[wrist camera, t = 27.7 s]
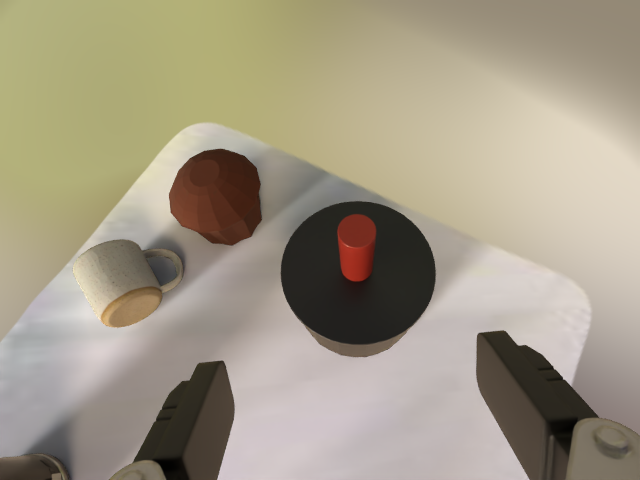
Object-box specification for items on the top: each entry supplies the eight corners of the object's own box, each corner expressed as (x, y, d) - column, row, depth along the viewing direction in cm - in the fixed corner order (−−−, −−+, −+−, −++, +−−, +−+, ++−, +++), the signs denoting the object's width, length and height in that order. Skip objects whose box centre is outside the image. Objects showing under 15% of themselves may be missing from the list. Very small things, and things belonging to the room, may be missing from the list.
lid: (351, 383, 33) (349, 370, 25) (253, 266, 38) (227, 225, 31) (466, 276, 36) (496, 235, 28) (361, 182, 42) (362, 127, 34)
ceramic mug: (123, 338, 46) (84, 322, 39) (97, 288, 49) (56, 265, 42) (199, 285, 48) (174, 261, 41) (169, 241, 51) (141, 212, 45)
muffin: (259, 260, 49) (237, 223, 40) (179, 251, 51) (141, 213, 42) (278, 183, 54) (262, 135, 45) (204, 177, 56) (175, 129, 47)
